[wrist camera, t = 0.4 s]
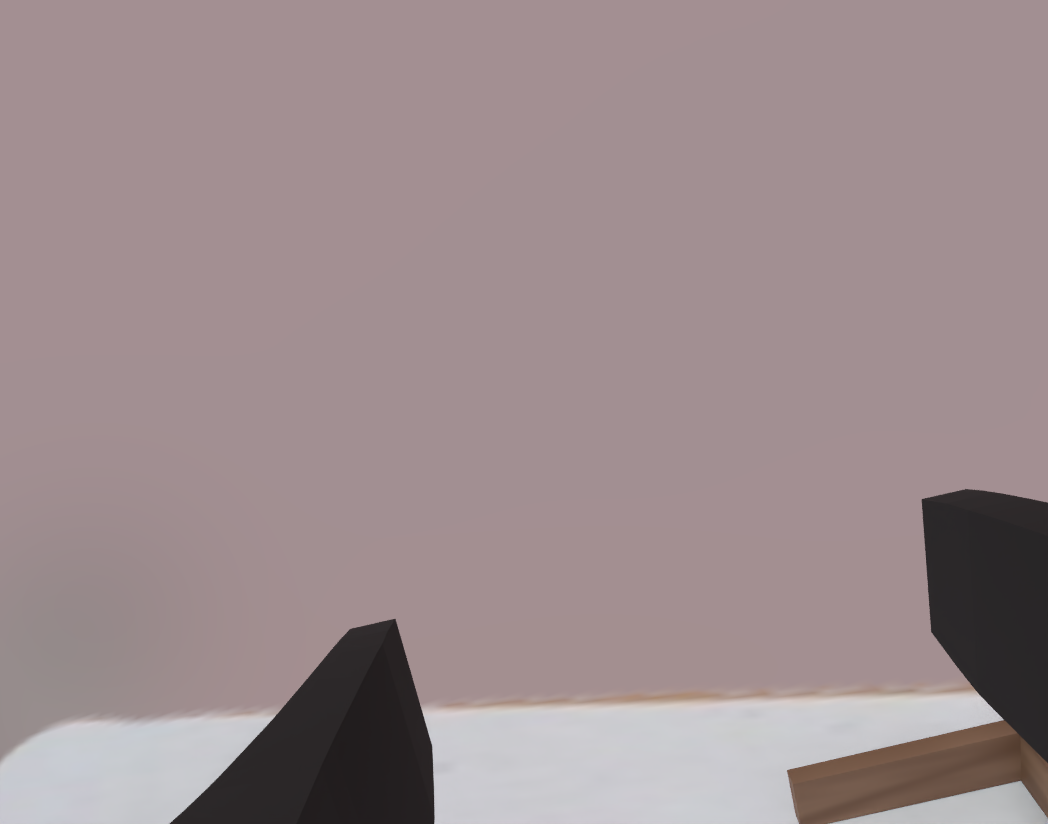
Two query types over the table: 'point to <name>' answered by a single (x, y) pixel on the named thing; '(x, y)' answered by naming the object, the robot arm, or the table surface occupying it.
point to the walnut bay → (917, 774)
